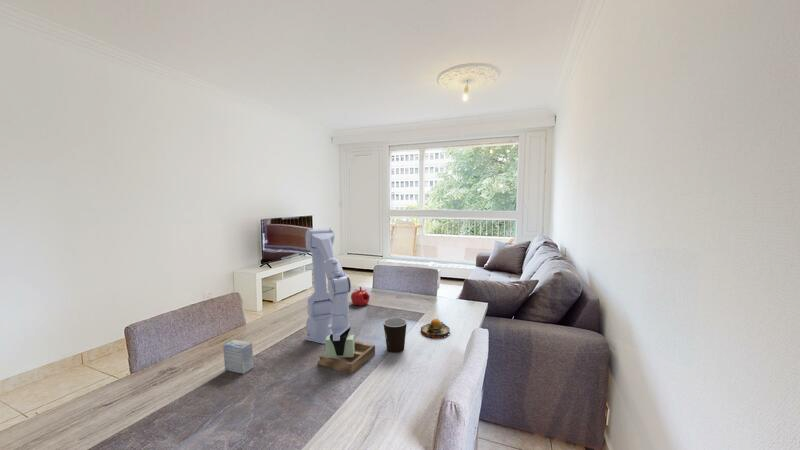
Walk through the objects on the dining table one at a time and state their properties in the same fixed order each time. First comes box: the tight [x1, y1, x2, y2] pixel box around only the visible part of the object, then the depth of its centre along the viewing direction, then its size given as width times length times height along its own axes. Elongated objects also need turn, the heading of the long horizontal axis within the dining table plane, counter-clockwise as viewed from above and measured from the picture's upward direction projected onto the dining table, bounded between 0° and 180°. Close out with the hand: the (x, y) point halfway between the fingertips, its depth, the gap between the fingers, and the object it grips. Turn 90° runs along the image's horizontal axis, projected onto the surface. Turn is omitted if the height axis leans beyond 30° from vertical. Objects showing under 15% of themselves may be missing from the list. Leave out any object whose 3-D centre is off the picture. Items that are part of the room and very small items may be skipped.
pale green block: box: [324, 334, 355, 358], centre depth 101 cm, size 9×4×6 cm, turn 90°
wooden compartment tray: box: [317, 340, 376, 375], centre depth 105 cm, size 14×14×3 cm
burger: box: [420, 317, 451, 339], centre depth 125 cm, size 12×12×8 cm
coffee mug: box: [383, 317, 408, 354], centre depth 113 cm, size 12×9×10 cm
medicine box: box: [223, 339, 255, 375], centre depth 99 cm, size 8×4×9 cm, turn 71°
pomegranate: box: [350, 286, 370, 307], centre depth 161 cm, size 10×10×9 cm
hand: (341, 352), depth 102 cm, fingers closed on pale green block, 3 cm apart
